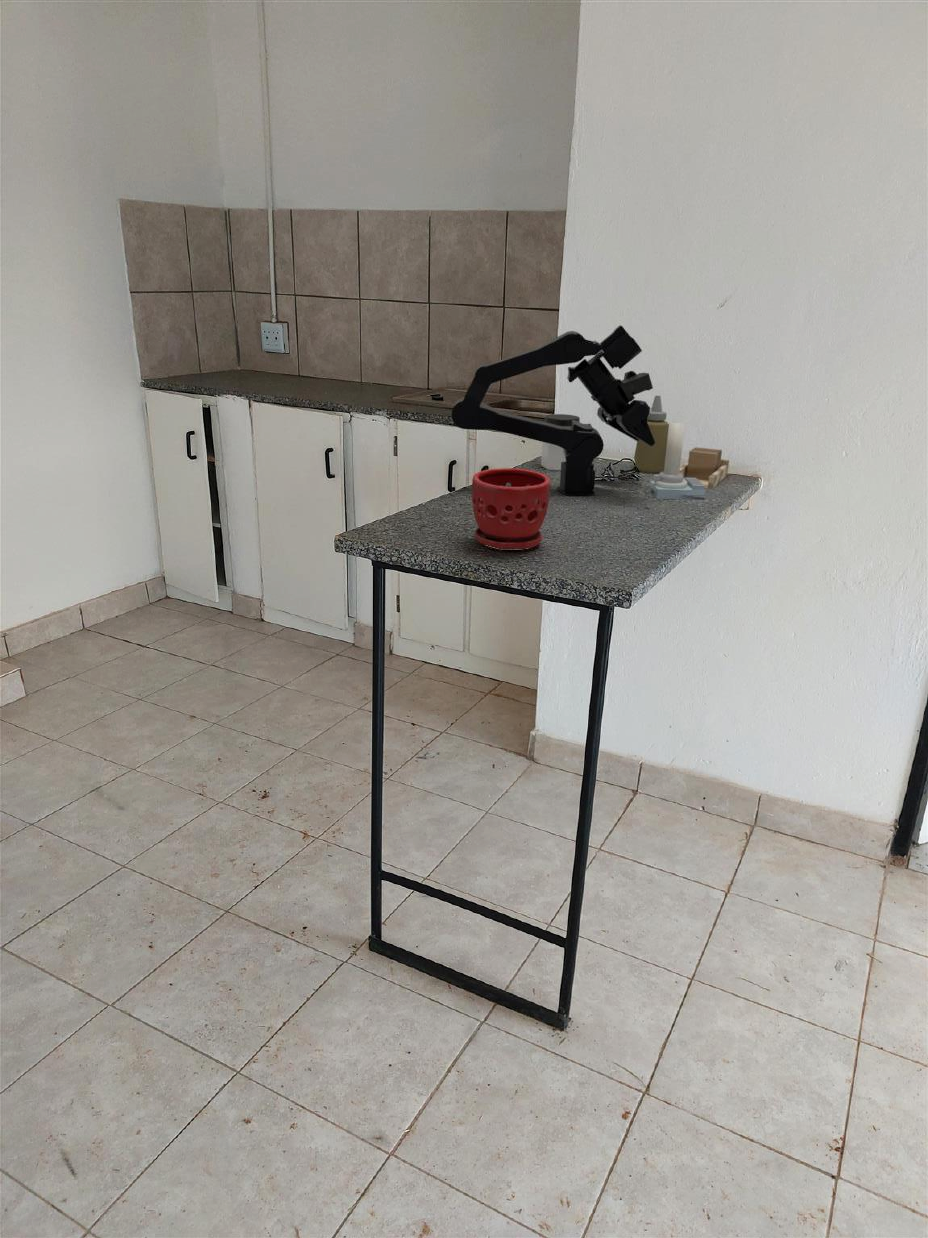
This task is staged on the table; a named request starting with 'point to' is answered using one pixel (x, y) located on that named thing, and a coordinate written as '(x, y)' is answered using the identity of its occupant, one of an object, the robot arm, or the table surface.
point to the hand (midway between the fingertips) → (646, 442)
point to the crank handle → (672, 455)
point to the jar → (554, 453)
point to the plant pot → (509, 507)
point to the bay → (714, 478)
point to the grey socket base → (678, 489)
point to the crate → (703, 462)
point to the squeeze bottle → (654, 456)
